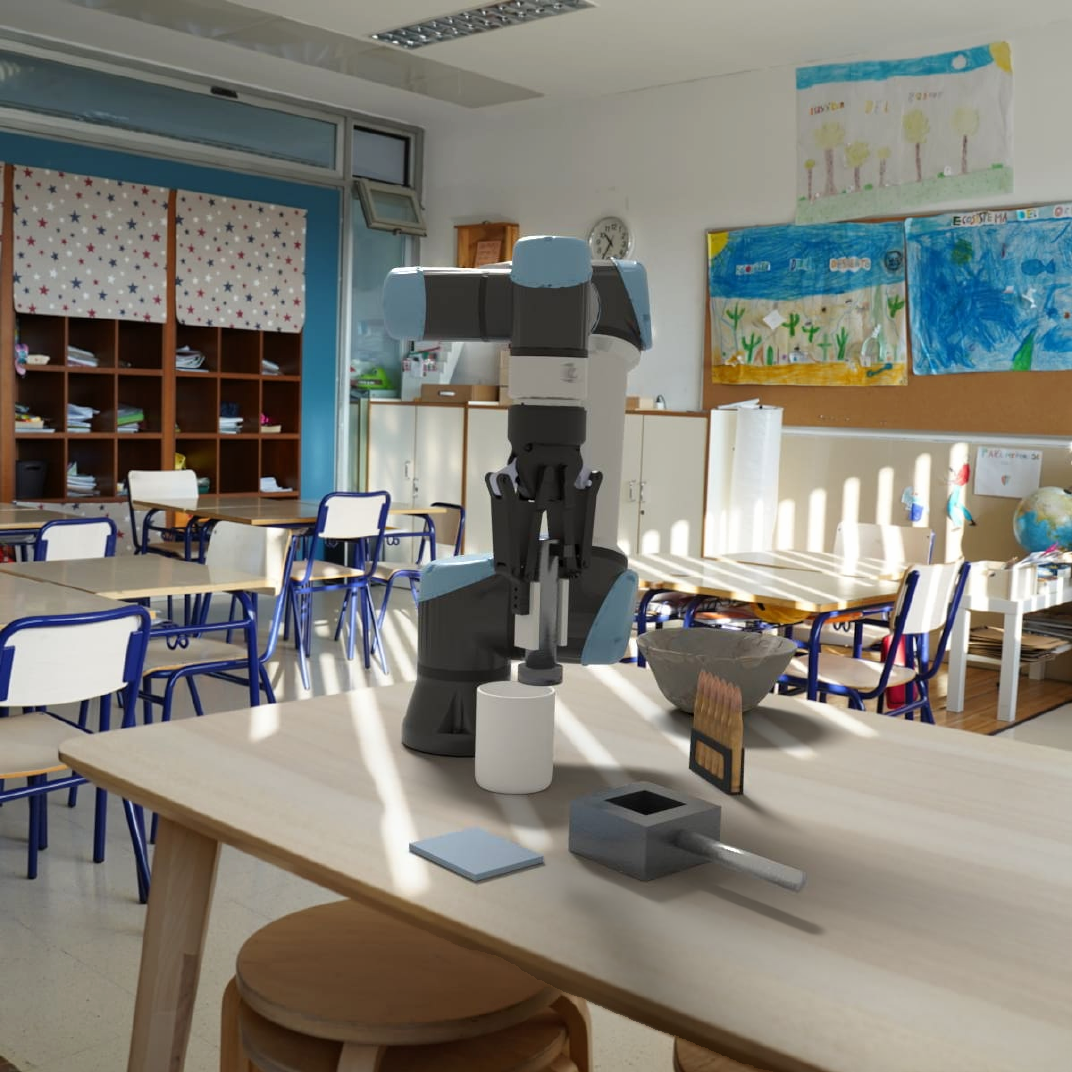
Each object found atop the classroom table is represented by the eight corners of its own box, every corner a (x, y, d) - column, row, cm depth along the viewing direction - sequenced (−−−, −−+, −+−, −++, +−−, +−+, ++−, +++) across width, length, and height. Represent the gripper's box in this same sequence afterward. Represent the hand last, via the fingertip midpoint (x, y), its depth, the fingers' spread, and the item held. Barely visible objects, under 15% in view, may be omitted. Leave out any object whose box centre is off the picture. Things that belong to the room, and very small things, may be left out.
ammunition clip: (744, 794, 140) (749, 687, 139) (728, 795, 140) (733, 687, 139) (702, 767, 150) (707, 667, 149) (688, 768, 150) (692, 667, 149)
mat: (408, 849, 120) (409, 843, 120) (476, 832, 125) (476, 826, 125) (475, 881, 112) (475, 874, 112) (543, 861, 118) (543, 855, 117)
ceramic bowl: (796, 699, 188) (799, 632, 187) (790, 737, 166) (794, 661, 165) (646, 687, 193) (649, 622, 192) (621, 723, 171) (624, 649, 170)
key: (499, 677, 126) (503, 536, 124) (533, 671, 129) (537, 533, 127) (546, 691, 121) (551, 544, 119) (580, 685, 124) (585, 541, 122)
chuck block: (568, 850, 121) (569, 798, 120) (642, 829, 127) (644, 780, 127) (759, 929, 104) (762, 869, 103) (833, 900, 110) (837, 844, 110)
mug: (521, 762, 150) (524, 672, 149) (565, 791, 139) (568, 694, 138) (453, 768, 147) (455, 677, 146) (491, 799, 136) (494, 700, 135)
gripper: (508, 402, 114) (501, 662, 116) (635, 405, 124) (626, 643, 127) (456, 400, 119) (451, 648, 122) (582, 403, 130) (575, 631, 133)
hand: (540, 645), depth 125 cm, fingers closed on key, 3 cm apart
